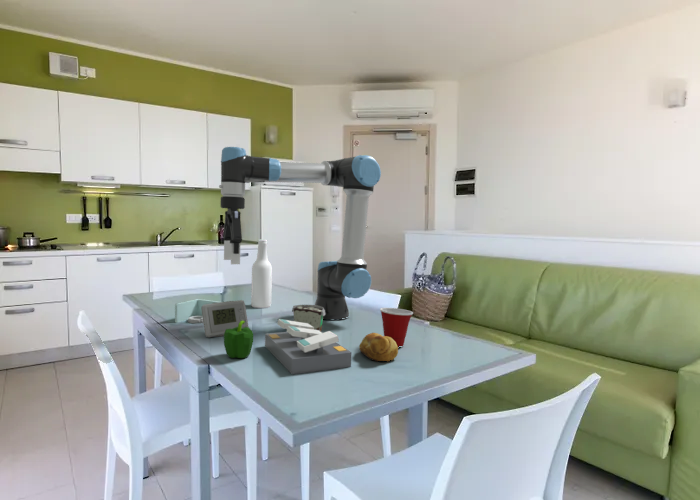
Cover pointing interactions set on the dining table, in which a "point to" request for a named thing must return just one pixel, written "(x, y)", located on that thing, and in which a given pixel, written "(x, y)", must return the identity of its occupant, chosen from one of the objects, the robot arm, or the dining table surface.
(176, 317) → the l-shaped corner panel
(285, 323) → the rocker
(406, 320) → the plastic cup
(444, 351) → the dining table surface
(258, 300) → the alcohol
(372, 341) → the bread roll
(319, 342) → the white rectangular block
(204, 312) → the digital clock
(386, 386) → the dining table surface
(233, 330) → the bell pepper
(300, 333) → the rocker
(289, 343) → the switch unit
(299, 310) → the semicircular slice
